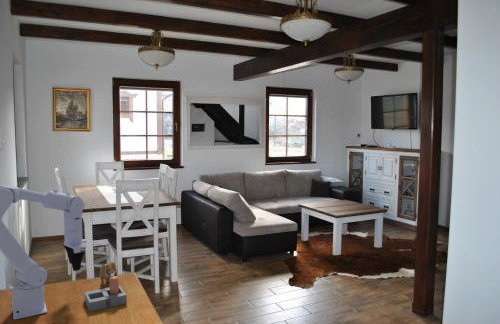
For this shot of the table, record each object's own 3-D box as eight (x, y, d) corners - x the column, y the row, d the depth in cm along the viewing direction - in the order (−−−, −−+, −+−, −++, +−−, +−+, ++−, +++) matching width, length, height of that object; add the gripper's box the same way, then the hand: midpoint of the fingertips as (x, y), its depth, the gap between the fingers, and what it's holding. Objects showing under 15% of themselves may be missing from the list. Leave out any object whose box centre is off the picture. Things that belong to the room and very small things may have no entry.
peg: (111, 302, 142) (110, 280, 141) (108, 299, 145) (108, 277, 144) (120, 300, 144) (119, 278, 143) (117, 297, 146) (117, 275, 145)
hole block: (89, 311, 136) (89, 302, 135) (84, 300, 143) (84, 292, 143) (126, 303, 142) (126, 294, 141) (119, 293, 149) (119, 285, 149)
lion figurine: (112, 288, 153) (112, 265, 152) (97, 289, 152) (97, 266, 151) (118, 273, 167) (118, 252, 166) (104, 274, 167) (104, 252, 166)
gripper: (89, 232, 141) (90, 271, 142) (81, 222, 153) (83, 258, 155) (66, 235, 137) (68, 275, 139) (60, 225, 149) (62, 261, 151)
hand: (74, 266), depth 147 cm, fingers open, 7 cm apart
